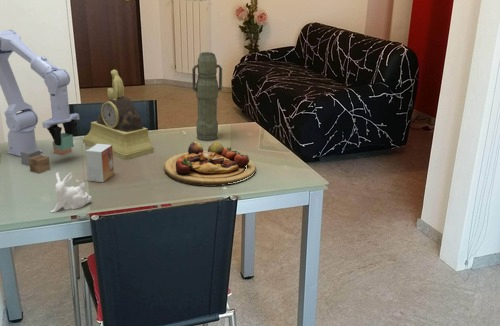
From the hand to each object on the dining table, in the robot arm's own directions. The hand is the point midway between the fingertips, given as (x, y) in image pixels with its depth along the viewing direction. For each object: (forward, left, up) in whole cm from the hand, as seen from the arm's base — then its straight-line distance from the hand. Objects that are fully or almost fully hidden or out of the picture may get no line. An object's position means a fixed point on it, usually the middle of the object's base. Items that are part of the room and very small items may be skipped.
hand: (63, 143), depth 179 cm
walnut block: (0, -11, -7) cm, 13 cm away
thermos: (+27, +51, -7) cm, 58 cm away
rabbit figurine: (+29, -25, -7) cm, 39 cm away
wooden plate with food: (+48, +21, -7) cm, 53 cm away
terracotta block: (-8, +6, -7) cm, 12 cm away
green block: (0, 0, -2) cm, 2 cm away
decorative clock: (+5, +21, -7) cm, 23 cm away
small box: (+22, -5, -7) cm, 24 cm away
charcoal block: (-8, -8, -7) cm, 13 cm away
